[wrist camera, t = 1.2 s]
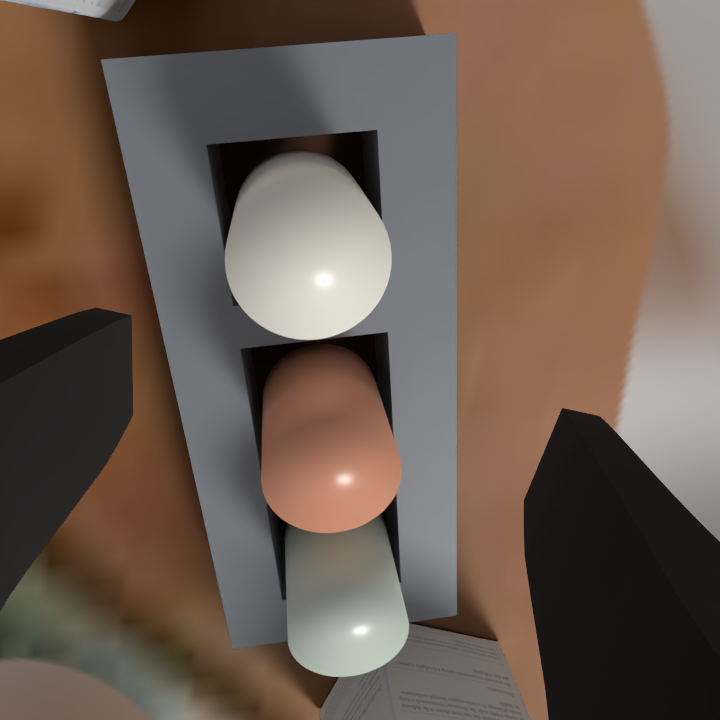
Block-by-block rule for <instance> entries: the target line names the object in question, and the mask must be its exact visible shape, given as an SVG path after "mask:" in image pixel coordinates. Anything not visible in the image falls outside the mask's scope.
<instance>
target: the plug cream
mask: <svg viewBox="0 0 720 720" xmlns="http://www.w3.org/2000/svg"><path fill="white" fill-rule="evenodd" d="M391 266H392V253H391V245H390V241H389V237H388V233H387V231H386V228H385V226H384V224H383V222H382V220H381V219H380V217H379V215H378V214H377V212H376V211H375V209H374V208H373V206H372V205H371V203H370V202H369V200H368V199H367V197H366V196H365V194H364V193H363V191H362V189H361V188H360V186H359V185H358V183H357V182H356V180H355V179H354V178H353V176H352V175H351V174H350V172H349V171H348V170H347V169H346V168H345V167H344V166H343V165H341V164H340V163H339V162H337V161H336V160H334V159H333V158H331V157H329V156H327V155H325V154H322V153H319V152H315V151H312V150H303V149H301V150H288V151H283V152H280V153H277V154H274V155H272V156H270V157H268V158H266V159H265V160H263V161H262V162H260V163H259V164H258V165H257V166H256V167H255V168H254V169H253V170H252V171H251V172H250V173H249V174H248V176H247V177H246V179H245V180H244V182H243V184H242V186H241V188H240V190H239V193H238V196H237V200H236V204H235V208H234V213H233V217H232V221H231V225H230V230H229V234H228V238H227V243H226V249H225V270H226V276H227V280H228V283H229V286H230V289H231V291H232V293H233V295H234V297H235V299H236V301H237V302H238V304H239V305H240V306H241V308H242V309H243V310H244V311H245V312H246V314H247V315H248V316H249V317H250V318H251V319H253V320H254V321H255V322H256V323H258V324H259V325H261V326H262V327H264V328H265V329H267V330H269V331H271V332H273V333H276V334H278V335H281V336H284V337H288V338H293V339H302V340H315V339H322V338H328V337H331V336H335V335H338V334H340V333H342V332H345V331H347V330H349V329H350V328H352V327H354V326H356V325H357V324H358V323H360V322H361V321H362V320H363V319H365V318H366V317H367V316H368V315H369V314H370V313H371V312H372V310H373V309H374V308H375V307H376V305H377V304H378V302H379V301H380V299H381V297H382V296H383V294H384V291H385V289H386V287H387V284H388V281H389V277H390V272H391Z"/></svg>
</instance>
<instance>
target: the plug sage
mask: <svg viewBox="0 0 720 720" xmlns="http://www.w3.org/2000/svg"><path fill="white" fill-rule="evenodd" d="M285 563H286V598H287V633H288V645H289V649H290V651H291V654H292V655H293V657H294V658H295V659H296V660H297V661H298V662H299V663H300V664H301V665H302V666H303V667H305V668H307V669H308V670H310V671H313V672H315V673H318V674H321V675H326V676H333V677H348V676H355V675H360V674H364V673H367V672H370V671H372V670H375V669H377V668H379V667H381V666H383V665H384V664H386V663H387V662H389V661H390V660H391V659H392V658H394V657H395V656H396V655H397V654H398V653H399V651H400V650H401V649H402V647H403V646H404V644H405V642H406V640H407V637H408V633H409V621H408V616H407V612H406V608H405V604H404V600H403V596H402V592H401V587H400V583H399V579H398V575H397V571H396V567H395V563H394V559H393V554H392V550H391V546H390V542H389V538H388V534H387V530H386V526H385V522H384V519H383V516H382V514H381V513H380V514H379V515H378V516H377V517H375V518H374V519H373V520H371V521H369V522H367V523H366V524H364V525H362V526H359V527H357V528H354V529H351V530H347V531H342V532H336V533H317V532H311V531H306V530H303V529H300V528H297V527H295V526H293V525H291V524H289V523H288V524H287V527H286V530H285Z"/></svg>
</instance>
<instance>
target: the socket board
mask: <svg viewBox="0 0 720 720" xmlns="http://www.w3.org/2000/svg"><path fill="white" fill-rule="evenodd" d="M101 62H102V67H103V71H104V76H105V80H106V85H107V89H108V93H109V98H110V102H111V107H112V111H113V116H114V120H115V125H116V129H117V134H118V138H119V143H120V147H121V152H122V156H123V161H124V165H125V169H126V174H127V178H128V183H129V187H130V192H131V196H132V201H133V205H134V210H135V214H136V219H137V223H138V228H139V232H140V237H141V241H142V245H143V250H144V254H145V259H146V263H147V268H148V272H149V277H150V281H151V286H152V290H153V295H154V299H155V304H156V308H157V313H158V317H159V321H160V326H161V330H162V335H163V339H164V344H165V348H166V353H167V357H168V362H169V366H170V371H171V375H172V380H173V384H174V389H175V393H176V397H177V402H178V406H179V411H180V415H181V420H182V424H183V429H184V433H185V438H186V442H187V447H188V451H189V456H190V460H191V465H192V469H193V473H194V478H195V482H196V487H197V491H198V496H199V500H200V505H201V509H202V514H203V518H204V523H205V527H206V532H207V536H208V541H209V545H210V550H211V554H212V558H213V563H214V567H215V572H216V576H217V581H218V585H219V590H220V594H221V599H222V603H223V608H224V612H225V617H226V621H227V626H228V630H229V634H230V639H231V643H232V648H233V649H240V648H246V647H253V646H260V645H266V644H273V643H279V642H286V641H288V633H287V598H286V563H285V536H281V534H280V528H279V522H278V515H277V514H276V513H275V512H274V511H273V510H272V509H271V507H270V506H269V504H268V503H267V501H266V499H265V496H264V494H263V490H262V484H261V461H262V418H263V417H262V414H261V408H260V402H259V395H258V389H257V383H256V376H255V370H254V364H253V357H252V351H251V348H252V347H260V346H269V345H278V344H287V343H296V342H305V341H313V340H302V339H293V338H288V337H284V336H281V335H278V334H276V333H273V332H271V331H269V330H267V329H265V328H264V327H262V326H261V325H259V324H258V323H256V322H255V321H254V320H253V319H251V318H250V317H249V316H248V315H247V314H246V312H245V311H244V310H243V309H242V308H241V306H240V305H239V304H238V302H237V301H236V299H235V297H234V295H233V293H232V291H231V289H230V286H229V283H228V280H227V276H226V270H225V249H226V243H227V238H228V234H229V230H230V225H231V218H230V212H229V205H228V199H227V193H226V186H225V180H224V174H223V168H222V161H221V155H220V149H219V143H231V142H242V141H254V140H266V139H277V138H289V137H300V136H312V135H323V134H335V133H347V132H358V131H362V146H363V162H364V178H365V194H366V197H367V199H368V200H369V202H370V203H371V205H372V206H373V208H374V209H375V211H376V212H377V214H378V215H379V217H380V219H381V220H382V222H383V224H384V226H385V228H386V231H387V233H388V237H389V241H390V245H391V253H392V266H391V272H390V277H389V281H388V284H387V287H386V289H385V291H384V294H383V296H382V297H381V299H380V301H379V302H378V304H377V305H376V307H375V308H374V309H373V310H372V312H371V313H370V314H369V315H368V316H367V317H366V318H365V319H363V320H362V321H361V322H360V323H358V324H357V325H356V326H354V327H352V328H350V329H349V330H347V331H345V332H342V333H340V334H338V335H335V336H331V337H328V338H322V339H331V338H340V337H349V336H357V335H366V334H374V337H375V353H376V369H377V384H378V391H379V394H380V397H381V400H382V403H383V406H384V409H385V412H386V416H387V419H388V422H389V425H390V428H391V431H392V434H393V438H394V441H395V444H396V447H397V450H398V453H399V457H400V460H401V467H402V476H401V481H400V485H399V488H398V491H397V493H396V495H395V497H394V498H393V500H392V501H391V503H390V504H389V505H388V506H387V508H386V509H385V511H386V522H385V526H386V530H387V534H388V538H389V542H390V546H391V550H392V554H393V559H394V563H395V567H396V571H397V575H398V579H399V583H400V587H401V592H402V596H403V600H404V604H405V608H406V612H407V616H408V621H409V623H411V622H417V621H424V620H431V619H437V618H444V617H450V616H457V33H450V34H437V35H423V36H410V37H396V38H383V39H369V40H356V41H343V42H329V43H316V44H302V45H289V46H276V47H262V48H249V49H235V50H222V51H208V52H195V53H182V54H168V55H155V56H141V57H128V58H114V59H101ZM322 339H315V340H322Z"/></svg>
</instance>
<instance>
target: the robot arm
mask: <svg viewBox="0 0 720 720" xmlns="http://www.w3.org/2000/svg"><path fill="white" fill-rule="evenodd" d="M132 416H133V381H132V320H131V315H127V314H123V313H118V312H113V311H109V310H104V309H99V308H93V309H89V310H85V311H81V312H78V313H75V314H72V315H69V316H66V317H63V318H60V319H57V320H54V321H52V322H49V323H46V324H43V325H40V326H38V327H35V328H32V329H29V330H27V331H24V332H21V333H18V334H16V335H13V336H10V337H7V338H4V339H2V340H0V611H1V609H2V607H3V606H4V604H5V602H6V601H7V599H8V598H9V596H10V594H11V593H12V591H13V590H14V589H15V587H16V586H17V584H18V583H19V581H20V580H21V578H22V577H23V575H24V574H25V573H26V571H27V570H28V568H29V567H30V566H31V564H32V563H33V562H34V560H35V559H36V558H37V556H38V555H39V554H40V552H41V551H42V550H43V548H44V547H45V546H46V544H47V543H48V542H49V540H50V539H51V538H52V536H53V535H54V534H55V532H56V531H57V530H58V528H59V527H60V526H61V525H62V523H63V522H64V521H65V519H66V518H67V517H68V515H69V514H70V513H71V511H72V510H73V509H74V507H75V506H76V505H77V503H78V502H79V501H80V499H81V498H82V497H83V495H84V494H85V493H86V491H87V490H88V488H89V487H90V486H91V484H92V483H93V482H94V480H95V479H96V478H97V476H98V475H99V474H100V472H101V471H102V469H103V468H104V467H105V465H106V464H107V462H108V460H109V459H110V457H111V455H112V453H113V452H114V450H115V448H116V446H117V445H118V443H119V441H120V439H121V437H122V435H123V433H124V431H125V430H126V428H127V426H128V424H129V422H130V420H131V418H132ZM524 547H525V561H526V568H527V575H528V581H529V588H530V595H531V601H532V607H533V614H534V620H535V626H536V633H537V639H538V645H539V651H540V658H541V664H542V670H543V677H544V683H545V691H546V699H547V708H548V717H549V720H720V542H719V541H718V540H717V539H716V538H715V537H714V536H713V535H712V534H711V533H710V532H709V531H708V530H707V529H706V528H705V527H704V526H703V525H702V524H701V523H700V522H699V521H698V520H697V519H696V518H695V517H694V516H693V515H692V514H691V513H690V512H689V511H688V510H687V509H686V508H685V507H684V506H683V505H682V503H681V502H680V501H679V500H678V499H677V498H676V497H675V496H674V495H673V494H672V493H671V492H670V491H669V490H668V489H667V488H666V486H665V485H664V484H663V483H662V482H661V481H660V480H659V479H658V478H657V477H656V476H655V475H654V473H653V472H652V471H651V470H650V469H649V468H648V467H647V466H646V465H645V464H644V462H643V461H642V460H641V459H640V458H639V457H638V456H637V455H636V454H635V453H634V451H633V450H632V449H631V448H630V447H629V446H628V445H627V444H626V443H625V442H624V440H623V439H622V438H621V437H620V436H619V435H618V434H617V433H616V432H615V431H614V430H613V429H612V428H611V427H610V426H609V425H608V424H607V423H606V422H605V421H604V420H603V419H602V418H601V417H600V416H596V415H592V414H587V413H582V412H578V411H573V410H568V409H564V408H562V410H561V412H560V415H559V417H558V420H557V422H556V424H555V427H554V429H553V432H552V434H551V437H550V439H549V441H548V444H547V446H546V449H545V451H544V453H543V456H542V458H541V461H540V463H539V465H538V468H537V470H536V473H535V475H534V478H533V480H532V482H531V485H530V487H529V490H528V492H527V494H526V497H525V499H524Z"/></svg>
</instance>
